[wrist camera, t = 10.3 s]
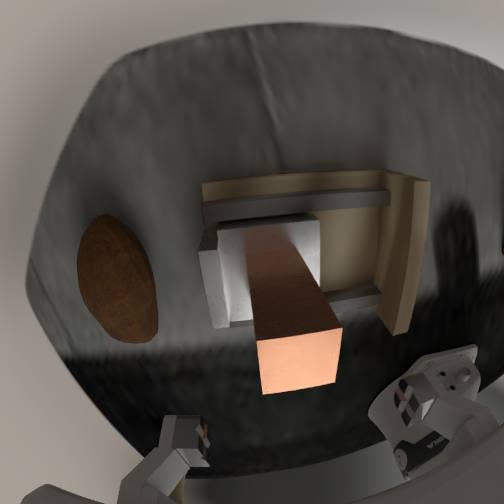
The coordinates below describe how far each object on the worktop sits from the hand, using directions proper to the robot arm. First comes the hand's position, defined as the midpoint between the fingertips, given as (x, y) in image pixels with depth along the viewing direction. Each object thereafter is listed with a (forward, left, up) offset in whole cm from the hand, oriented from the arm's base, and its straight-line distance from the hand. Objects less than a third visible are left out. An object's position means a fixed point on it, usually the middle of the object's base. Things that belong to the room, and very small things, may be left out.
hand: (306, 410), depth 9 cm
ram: (0, 0, -14) cm, 14 cm away
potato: (+12, 0, -16) cm, 20 cm away
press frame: (-4, 0, -16) cm, 16 cm away
